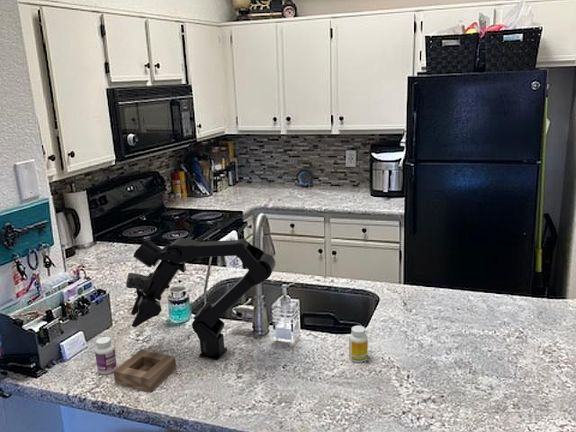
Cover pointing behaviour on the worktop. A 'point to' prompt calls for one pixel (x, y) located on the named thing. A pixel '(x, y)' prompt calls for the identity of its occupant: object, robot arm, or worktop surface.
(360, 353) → the supplement bottle
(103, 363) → the pill bottle
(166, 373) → the socket block
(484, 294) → the worktop surface
